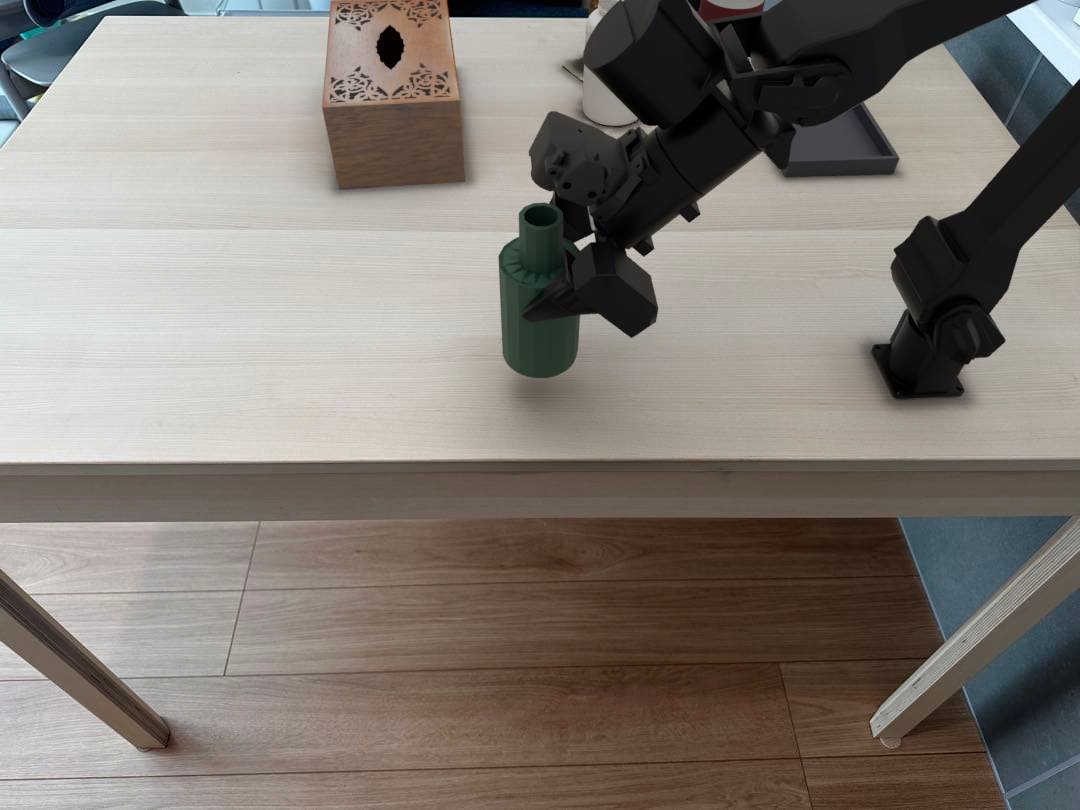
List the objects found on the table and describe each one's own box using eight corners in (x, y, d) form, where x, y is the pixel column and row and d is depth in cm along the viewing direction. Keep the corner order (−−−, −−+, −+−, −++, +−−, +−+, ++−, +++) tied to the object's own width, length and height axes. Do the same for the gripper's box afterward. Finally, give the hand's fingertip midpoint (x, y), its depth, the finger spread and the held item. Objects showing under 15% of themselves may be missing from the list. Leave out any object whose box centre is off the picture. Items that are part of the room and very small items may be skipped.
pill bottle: (605, 89, 106) (615, -31, 94) (655, 109, 103) (671, -12, 91) (568, 112, 102) (574, -10, 90) (619, 135, 99) (631, 11, 87)
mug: (674, 84, 107) (686, 8, 99) (669, 55, 112) (680, -19, 105) (753, 86, 107) (770, 10, 99) (744, 57, 112) (760, -18, 105)
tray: (893, 173, 94) (900, 158, 93) (784, 177, 93) (789, 161, 92) (847, 98, 105) (852, 83, 104) (749, 101, 104) (752, 86, 103)
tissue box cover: (344, 77, 107) (330, 0, 99) (451, 71, 108) (446, -5, 101) (339, 189, 91) (322, 107, 83) (465, 181, 92) (460, 100, 84)
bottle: (580, 376, 66) (589, 242, 55) (503, 380, 66) (498, 245, 55) (573, 323, 70) (580, 188, 59) (501, 326, 70) (495, 191, 59)
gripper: (589, 17, 56) (445, 160, 64) (624, 169, 44) (442, 321, 52) (683, 117, 62) (542, 235, 70) (736, 273, 50) (559, 394, 58)
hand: (522, 288), depth 63 cm, fingers closed on bottle, 6 cm apart
